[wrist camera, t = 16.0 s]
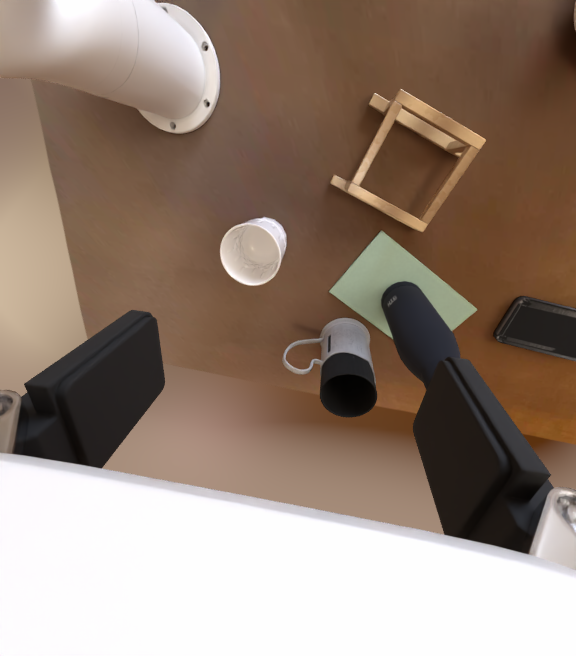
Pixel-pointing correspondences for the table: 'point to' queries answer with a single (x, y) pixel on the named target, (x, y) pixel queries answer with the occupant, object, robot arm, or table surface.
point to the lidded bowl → (575, 16)
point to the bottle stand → (461, 147)
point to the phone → (539, 327)
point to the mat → (389, 268)
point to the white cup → (253, 250)
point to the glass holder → (343, 368)
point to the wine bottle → (417, 330)
